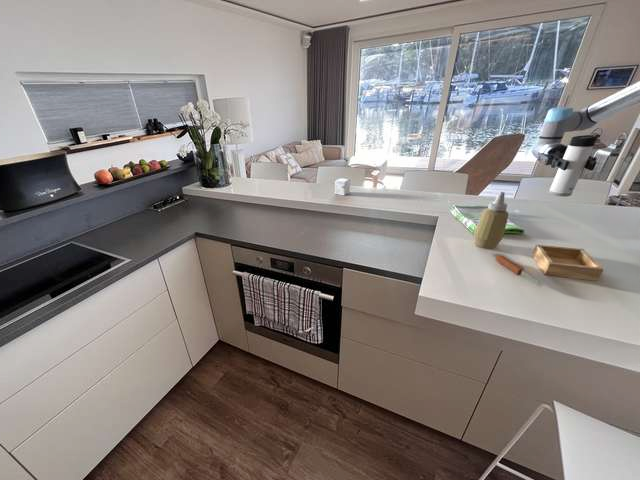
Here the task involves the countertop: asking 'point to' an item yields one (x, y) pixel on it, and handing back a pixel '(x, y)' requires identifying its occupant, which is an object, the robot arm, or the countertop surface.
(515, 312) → the countertop surface
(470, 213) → the dish towel
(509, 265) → the kitchen knife
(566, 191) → the travel mug
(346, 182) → the product carton
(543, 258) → the wooden tray
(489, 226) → the squeeze bottle
